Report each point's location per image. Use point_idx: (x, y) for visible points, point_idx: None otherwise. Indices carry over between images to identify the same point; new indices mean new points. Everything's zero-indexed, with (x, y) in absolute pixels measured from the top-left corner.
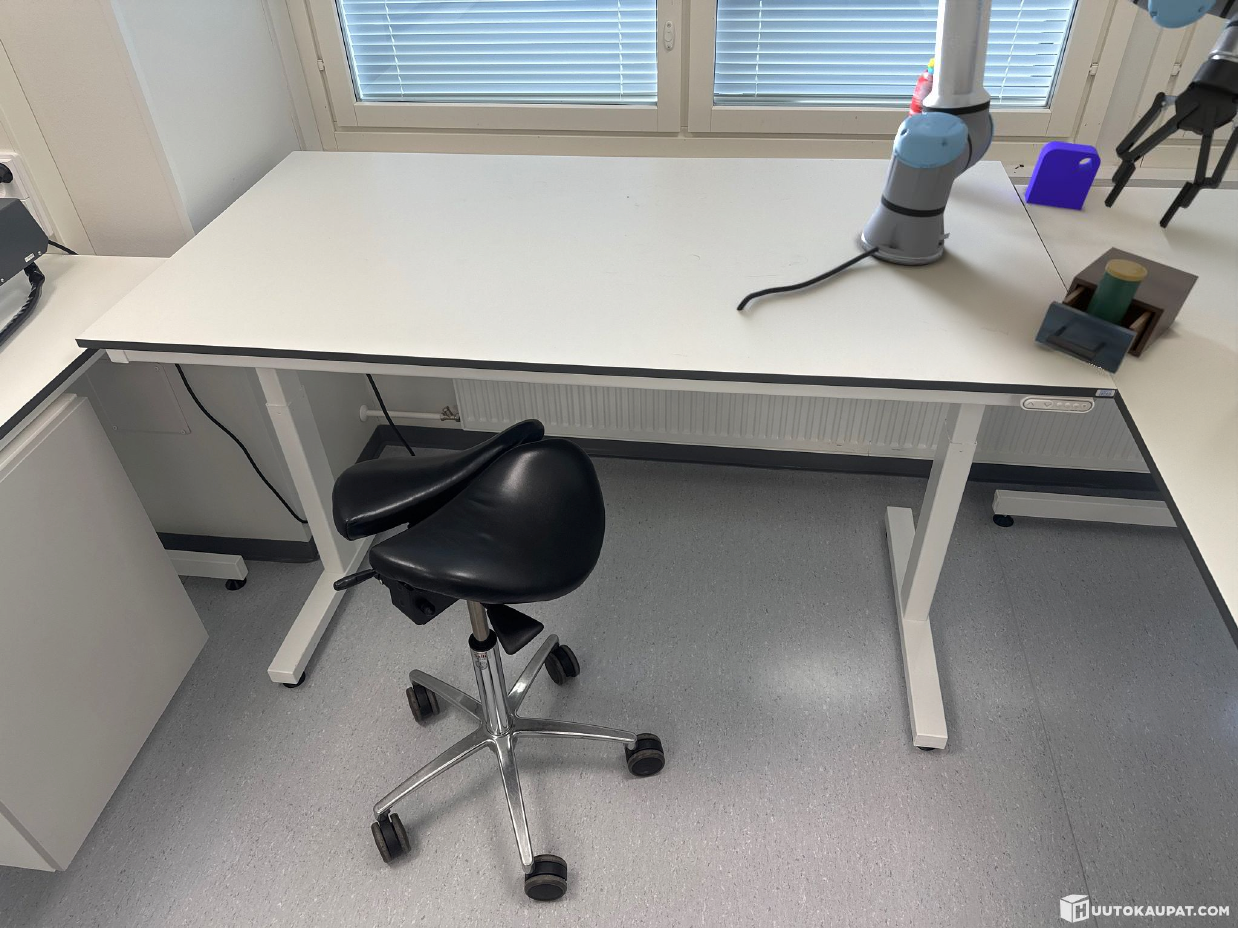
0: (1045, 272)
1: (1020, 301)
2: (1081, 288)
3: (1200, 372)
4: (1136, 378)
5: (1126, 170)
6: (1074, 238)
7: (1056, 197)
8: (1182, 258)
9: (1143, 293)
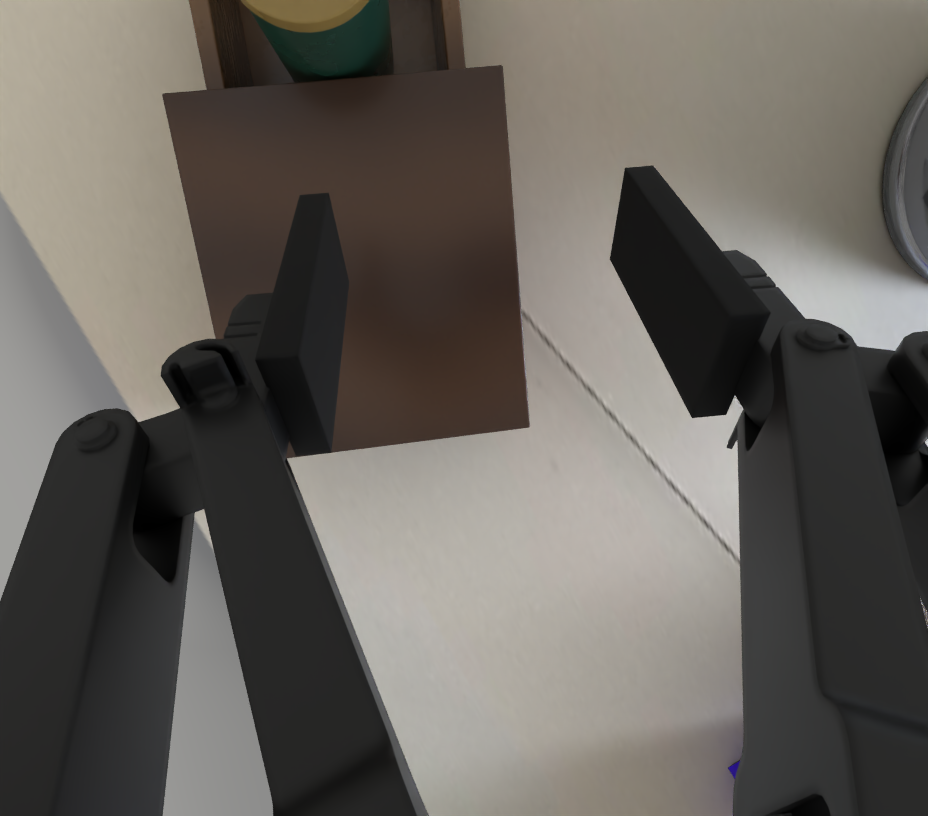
0: (636, 390)
1: (603, 167)
2: (455, 65)
3: (95, 221)
4: (170, 22)
5: (728, 273)
6: (671, 626)
7: None
8: (446, 744)
9: (278, 158)
